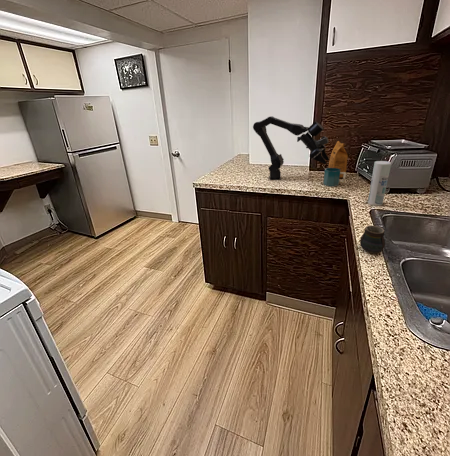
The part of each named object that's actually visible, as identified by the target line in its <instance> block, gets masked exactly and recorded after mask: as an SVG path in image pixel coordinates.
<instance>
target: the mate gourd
mask: <svg viewBox="0 0 450 456" xmlns="http://www.w3.org/2000/svg"><path fill="white" fill-rule="evenodd" d="M384 236H385V229H384V228H382V227H381V226H378V225H371V224H370V225H367V226H365V227H364V231H363V234H362V235H361V236H360V238H359V244H360V247H361V248H362V250H364V251H365V252H367V253H369V254H379V253H381V252H383V250H384V249H385V247H386V240H385V237H384Z"/></svg>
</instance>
